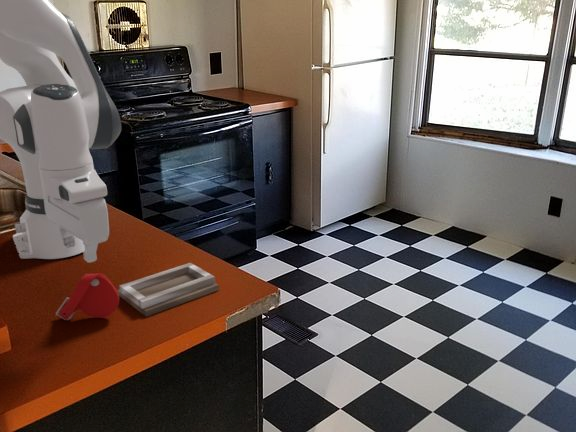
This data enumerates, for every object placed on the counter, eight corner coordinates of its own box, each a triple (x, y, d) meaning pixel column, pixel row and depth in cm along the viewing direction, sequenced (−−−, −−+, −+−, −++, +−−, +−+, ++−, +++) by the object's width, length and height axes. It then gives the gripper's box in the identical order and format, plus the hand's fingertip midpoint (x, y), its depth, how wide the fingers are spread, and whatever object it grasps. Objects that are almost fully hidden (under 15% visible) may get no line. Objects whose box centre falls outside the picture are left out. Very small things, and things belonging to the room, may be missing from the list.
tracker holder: (123, 314, 117) (118, 267, 113) (117, 326, 113) (112, 278, 109) (60, 315, 116) (53, 268, 113) (52, 327, 112) (44, 279, 109)
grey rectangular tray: (117, 295, 124) (116, 283, 123) (188, 271, 135) (187, 260, 134) (146, 316, 116) (145, 304, 115) (218, 290, 126) (218, 278, 125)
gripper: (29, 172, 110) (41, 242, 115) (74, 196, 96) (86, 275, 100) (63, 166, 114) (73, 234, 119) (111, 188, 99) (121, 264, 104)
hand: (79, 253), depth 109 cm, fingers open, 8 cm apart
